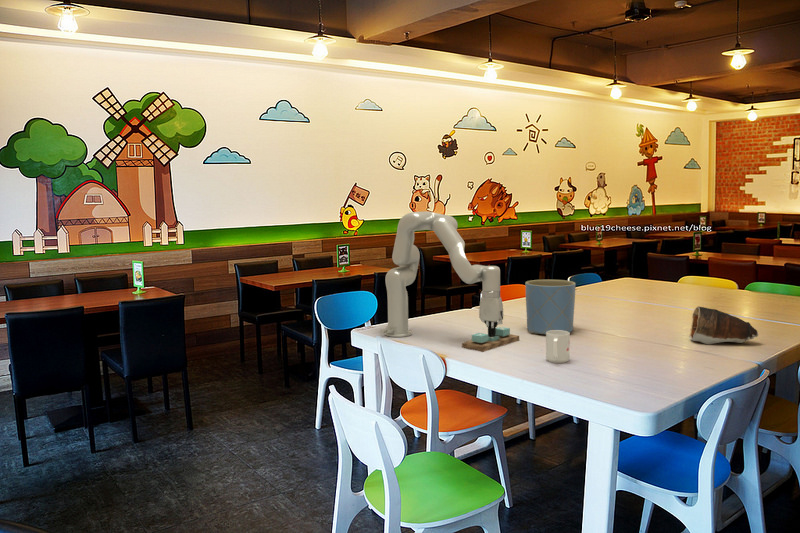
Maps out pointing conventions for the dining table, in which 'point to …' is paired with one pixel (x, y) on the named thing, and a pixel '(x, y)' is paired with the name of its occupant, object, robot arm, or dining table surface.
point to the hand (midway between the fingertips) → (491, 336)
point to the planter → (550, 305)
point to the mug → (557, 346)
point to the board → (490, 343)
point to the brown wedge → (719, 327)
